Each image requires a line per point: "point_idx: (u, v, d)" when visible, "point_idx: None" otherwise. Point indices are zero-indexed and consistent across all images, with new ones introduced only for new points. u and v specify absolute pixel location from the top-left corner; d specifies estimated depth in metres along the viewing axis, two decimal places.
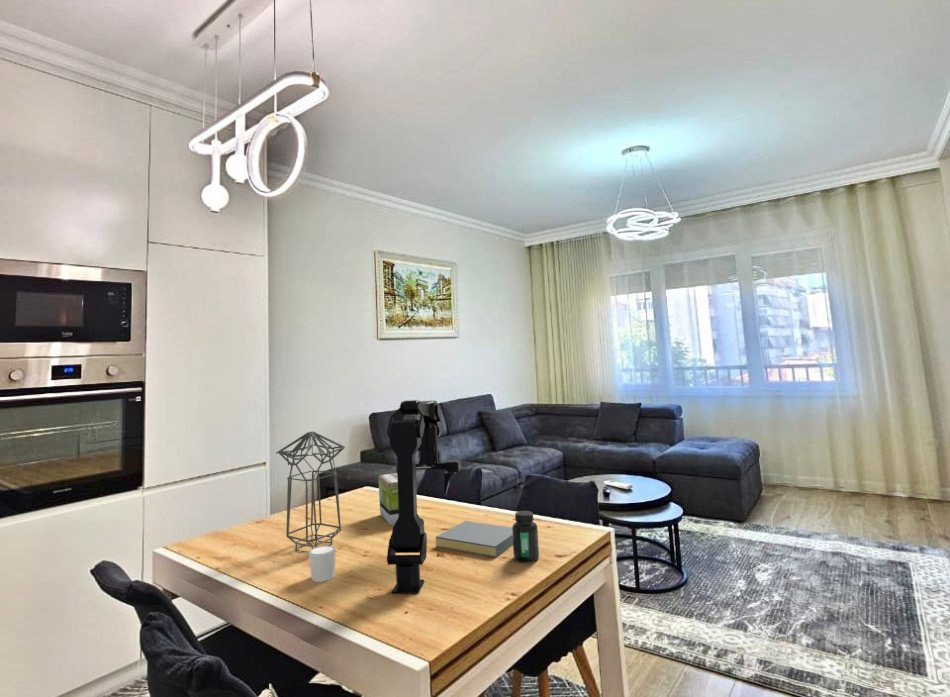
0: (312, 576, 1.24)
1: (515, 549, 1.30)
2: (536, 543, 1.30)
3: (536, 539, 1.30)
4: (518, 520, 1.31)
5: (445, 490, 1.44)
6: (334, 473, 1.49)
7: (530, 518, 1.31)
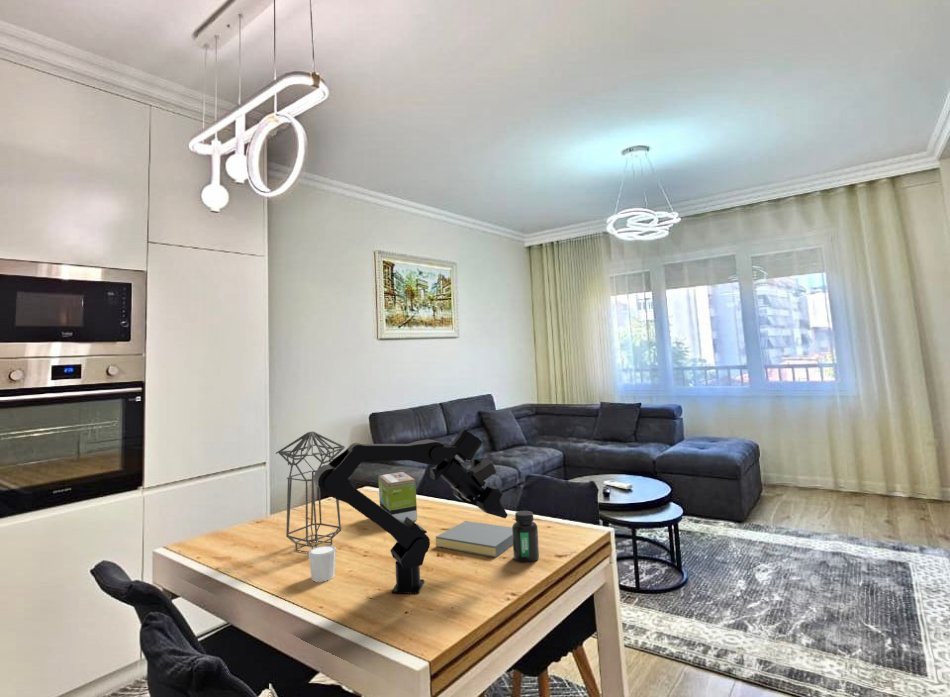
0: (312, 576, 1.24)
1: (515, 549, 1.30)
2: (536, 543, 1.30)
3: (536, 539, 1.30)
4: (518, 520, 1.31)
5: (500, 516, 1.24)
6: None
7: (530, 518, 1.31)
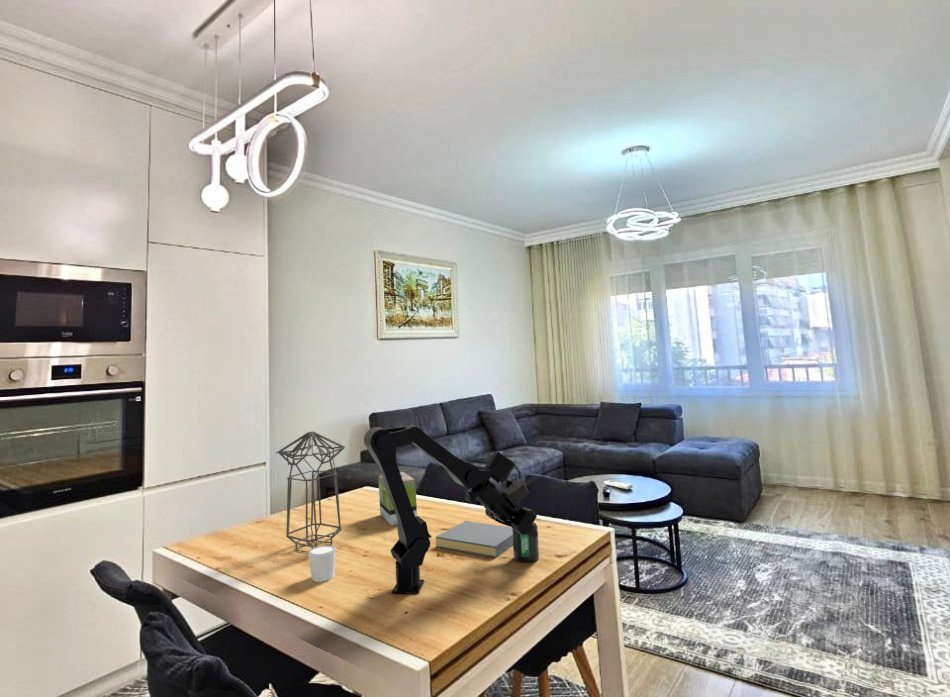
0: (312, 576, 1.24)
1: (515, 549, 1.30)
2: (536, 543, 1.30)
3: (536, 539, 1.30)
4: None
5: (531, 536, 1.28)
6: (334, 473, 1.49)
7: None
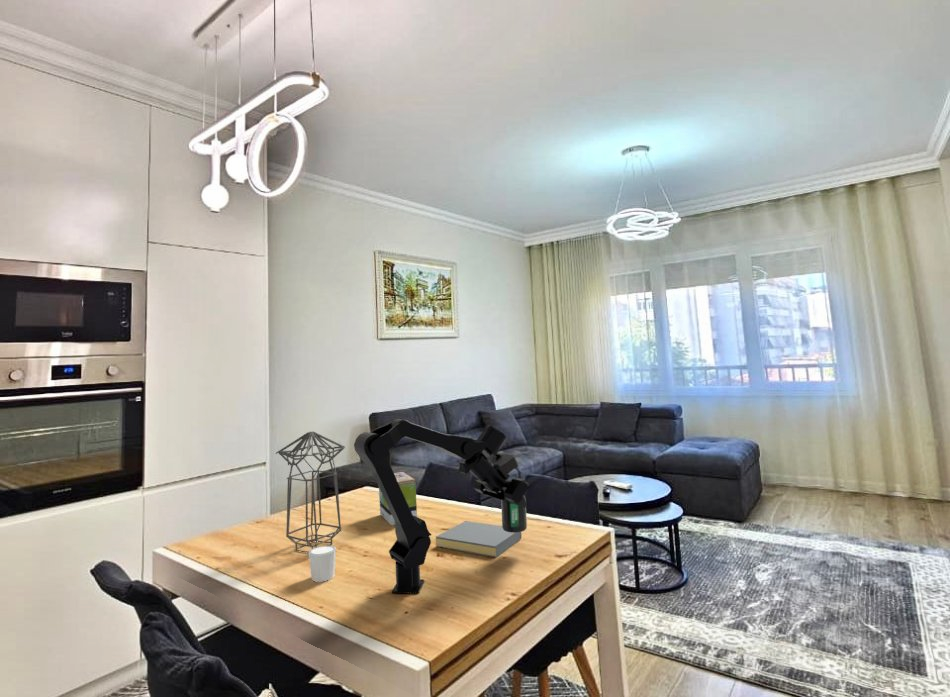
0: (312, 576, 1.24)
1: (505, 520, 1.34)
2: (525, 514, 1.35)
3: (525, 510, 1.35)
4: None
5: (520, 506, 1.33)
6: (334, 473, 1.49)
7: None
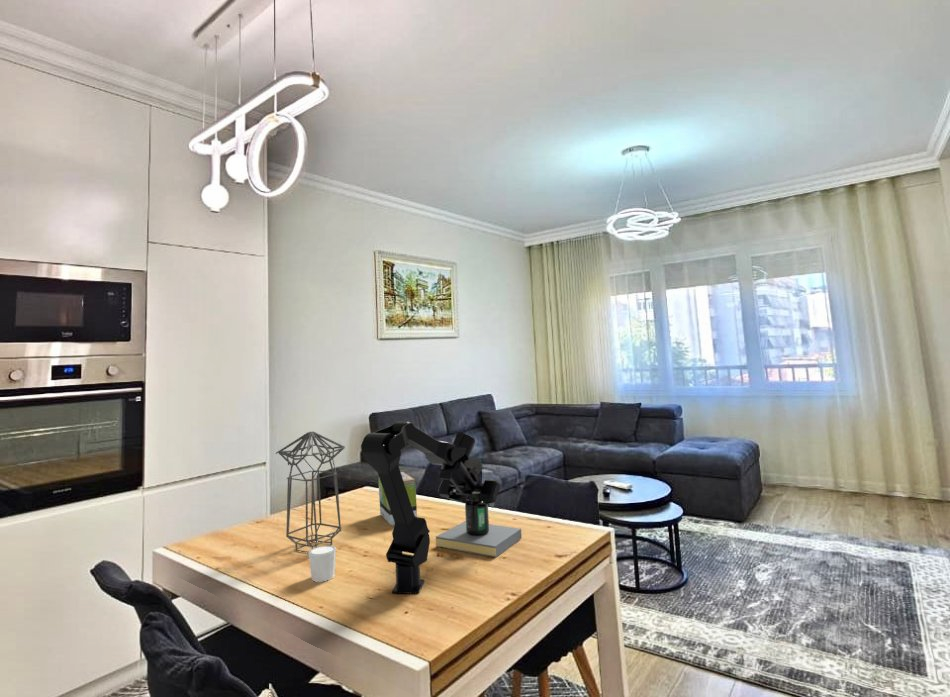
0: (312, 576, 1.24)
1: (471, 525, 1.43)
2: (488, 516, 1.45)
3: None
4: (474, 498, 1.44)
5: None
6: (334, 473, 1.49)
7: None
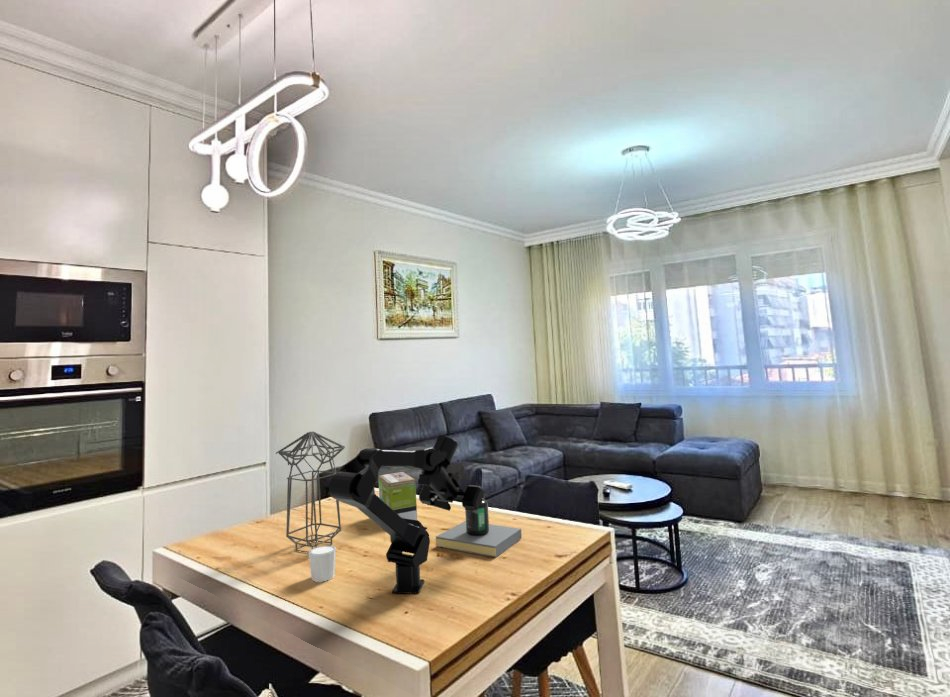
0: (312, 576, 1.24)
1: (471, 525, 1.43)
2: (488, 516, 1.45)
3: None
4: None
5: (474, 513, 1.35)
6: (334, 473, 1.49)
7: (483, 495, 1.45)
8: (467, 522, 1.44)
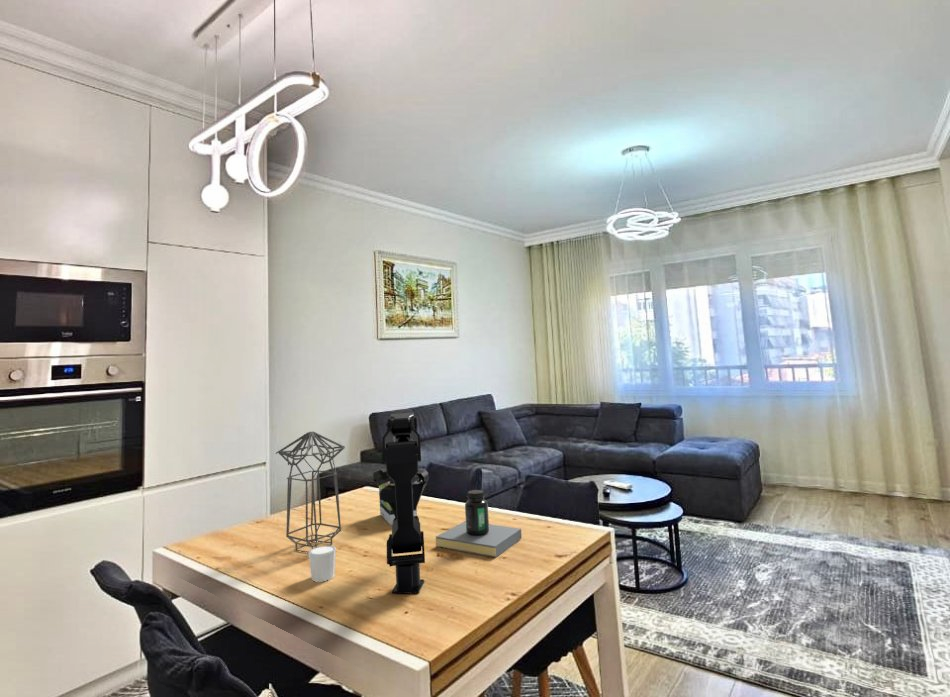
0: (312, 576, 1.24)
1: (471, 525, 1.43)
2: (488, 517, 1.45)
3: None
4: (474, 498, 1.44)
5: (417, 503, 1.38)
6: (334, 473, 1.49)
7: (483, 495, 1.45)
8: (467, 522, 1.44)
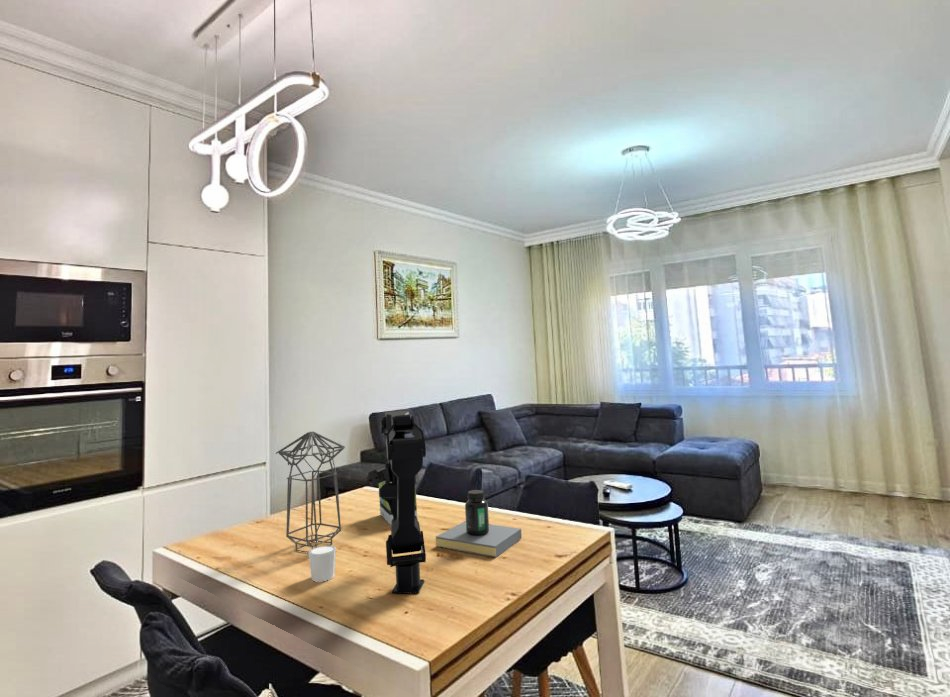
0: (312, 576, 1.24)
1: (471, 525, 1.43)
2: (488, 517, 1.45)
3: None
4: (474, 498, 1.44)
5: None
6: (334, 473, 1.49)
7: (483, 495, 1.45)
8: (467, 522, 1.44)
